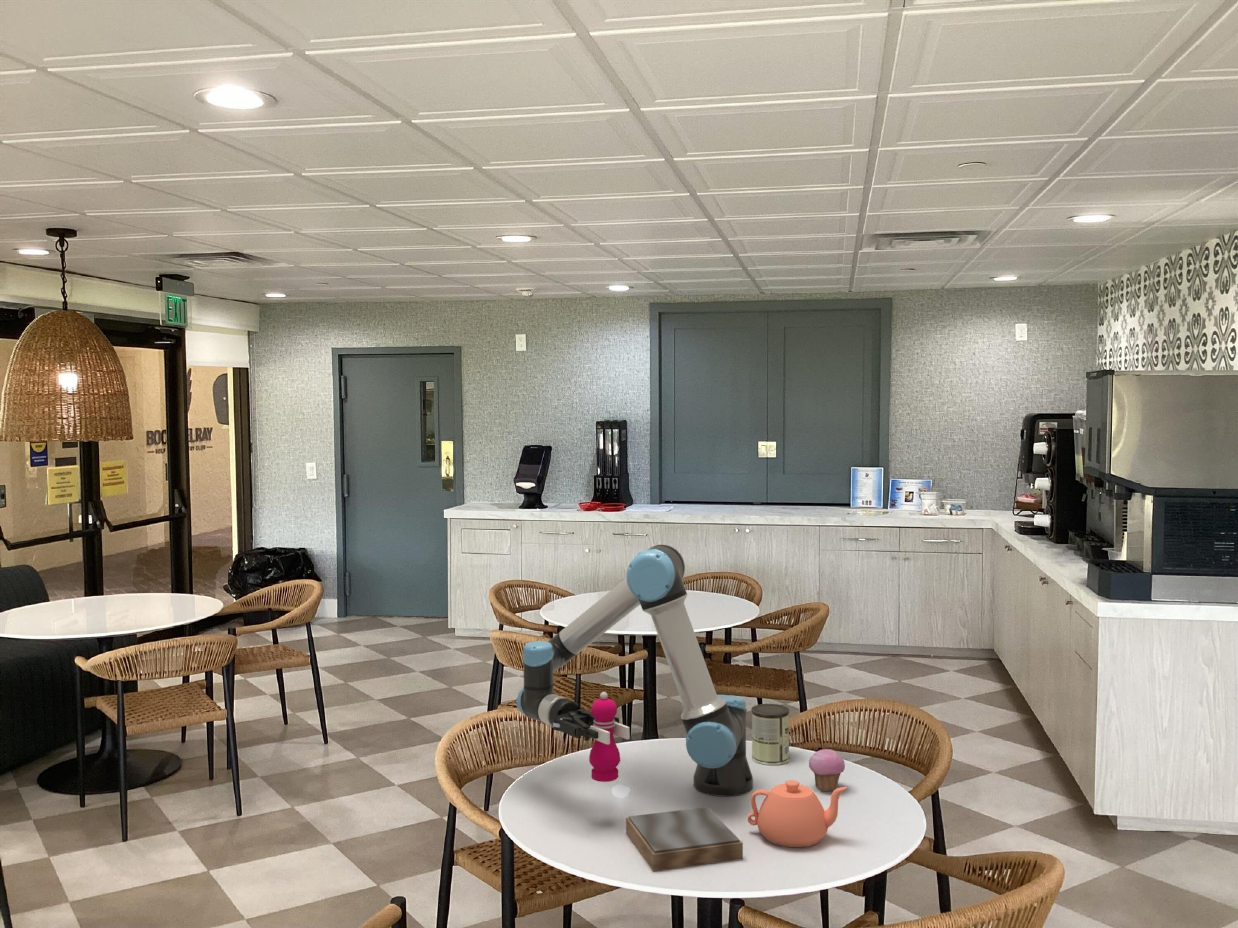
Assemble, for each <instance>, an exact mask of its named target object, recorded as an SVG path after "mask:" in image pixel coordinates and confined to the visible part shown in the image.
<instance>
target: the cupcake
mask: <svg viewBox="0 0 1238 928" xmlns="http://www.w3.org/2000/svg"><path fill="white" fill-rule="evenodd" d="M845 763H846V762H845V760H844V758H843V757H842V756H841V755H840V754H838V752H837V751H835V750H833V749H829V748H828V749H827V748H825V749H819V750H818V751H816V752H814V753H813V755H811V756H810V757H809V759H808V767H809V769H810V770H811V771H812V772H813V775H814V783H815V787H816V788H817V789H818V790H820V791H821V792H827V791H831V792H833V791H834V790H835V789H837V787H838V784H839V781H840V777H841V774H842V773H844V771H845V767H846V765H845Z"/></svg>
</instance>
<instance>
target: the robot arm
mask: <svg viewBox="0 0 1238 928" xmlns="http://www.w3.org/2000/svg"><path fill="white" fill-rule="evenodd" d="M685 572H686V564H685V561H684V558H683V555H682V554H681V553H680V552H679V551H678V550H677V548H675V547H673V546H670V545H667V544H656V545H653V546H651V547H649V548H647V549H646V550H643V551H641V552H639V553H638V554H636V555H635V556H634V557H633V558H632V559H631V562H630V563H629V565H628V566H627V570H626V576H625V577H626V578H624V580H622V581H621V582H620V583H618V584H617V585H616V586H614V588H612V589H611V590H609V591H608V592H607V593H606V594H605V595H604V596H602V597H601V598H600V599H598V600H597V601H596V602H595V603H594V604H592V605H591V606H590V607H589V608H588V609H586V610H585V611H583V612H582V613H581V614H580V615H579V616H578V617H576V618H575V619H574V620H572V621H571V623H569V624H568V625H566V626H565V627H564V628H562V630H560V631H559V632H558V633H557V634H555V635H554V636H553V637H552V638H550V639H549V640H547V641H542V640H537V641H536V640H535V641H530V642H527V643H525V644H524V645H523V652H522V653H523V654H522V662H523V665H522V666H523V688H521V689H520V690H519V692H518V693H517V694H518V695H517V697H516V701H515V704H516V708H517V710H518V711H519V712H520V713H521V714H522V715H524V716H526V717H527V718H529V719H530V720H531V719H532V720H535V721H537V722H541V723H543V724H545V725H547V726H550V727H551V728H553V729H552V730H553V731H557V732H558V731H559V732H561V733H564V734H565V735H569V736H571V737H573V738H575V739H581V738H582V737H583V738H584V741H585V742H588V741H590V739H593V740H594V741H595V740H597V741H600V742H602V743H605V744H607V745H608V744H610V732H608V731H606V730H603V729H600V728H598V727H595V726H594V719H595V718H594V717H593V715H592V713H591V712H590V711H587V710H584V709H581V707H580V705H579V704H578V703H577V702H575V701H574V700H571V699H568V698H566V697H564V696H561V695H558V694H556V693H555V694H554V673H556V672H557V671H558V670H559V669H560V668H562V667H564V666H565V665H566V664H569V662H570V661H571V660H572V659H574V658H575V657H576V656H577V655H578V654H579V653H581V652H582V651H583V650H584V649H586V648H587V647H588V646H590V645H591V644H592V643H594V642H595V641H596V640H597V639H598V638H600V637H601V636H602V635H604V634H605V633H606V632H607V631H609V630H610V629H611V628H612V627H614V626H615V625H616V624H617V623H618V622H620V621H621V620H622V619H624V618H625V617H627V616H628V615H629V614H630V613H631V612H632V611H634V610H635V609H637V608H638V607H639V606H640V607H641V610H642V611H643V612H645V613H647V614H648V615H650V616H651V617H650V618H651V619H652V622H653V624H654V627H655V630H656V634H657V637H658V638H659V641H660V645H661V646H662V647H661V648H662V650H663V653H664V655H665V659H666V661H667V663H668V667H669V670H670V672H671V675H672V679H673V681H674V684H675V686H676V689H677V692H678V695H679V697H680V701H681V703H682V706H683V711H682V713H681V715H680V718H681V721H682V724H683V727H684V730H685V733H686V737H685V747H686V752H687V754H688V756H689V757H690V758H691V760H692V761H693V762H695V764H696V767H695V771H694V773H693V787H694V788H695V790H697V791H699V792H701V793H703V794H706V795H710V796H717V797H734V796H735V797H736V796H739V795H740V796H741V795H744V794H746V793H749V792H751V790H752V789H753V787H754V779H753V777H754V776H753V773H752V771H751V768H750V765H749V762H748V759H747V714H746V713H747V705H746V703H747V702H746V700H745V698H743V697H741V696H736V695H729V694H717V692H716V688H715V686H714V683H713V681H712V680H713V679H712V677H711V676H710V672H709V670H708V667H707V663H706V661H705V658H704V655H703V652H702V650H701V648H700V647H701V646H700V645H699V642H698V641H699V640H698V639H697V636H696V633H695V629H694V628H693V625H692V622H691V619H690V617H689V613H688V611H687V608H686V605H685V601H686V600H687V596H688V593H687V590H686V586H685V585H684V581H683V578H684V575H685ZM614 719H615V726H614V727H613V736H614V735H615V736H618V737H620V738H622V739H625V740H630V738H631V737H630V733H631V732H630V730H631V729H630V726H627V725H625V724H622V723H620V718H619V717H618V716H615V717H614Z"/></svg>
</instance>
